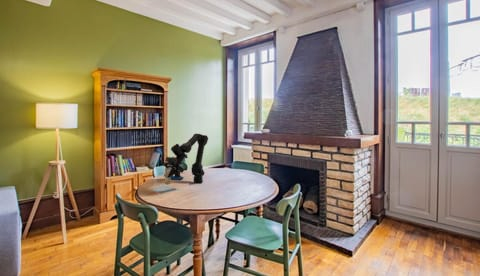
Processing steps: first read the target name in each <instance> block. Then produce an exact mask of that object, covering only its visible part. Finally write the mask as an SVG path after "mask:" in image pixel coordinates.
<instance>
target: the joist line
mask: <svg viewBox="0 0 480 276" xmlns="http://www.w3.org/2000/svg"><path fill="white" fill-rule="evenodd" d="M175 188H176V187H174V188H173V189H169V190H165V191H161V192H158V193H160V194H162V193H165V194H167V193H166V192H169V193H171V192H170V191H173V190H177V189H178V188H177V189H175ZM177 191H178V190H177ZM173 192H174V191H173Z"/></svg>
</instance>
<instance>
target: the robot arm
mask: <svg viewBox="0 0 480 276" xmlns="http://www.w3.org/2000/svg"><path fill="white" fill-rule="evenodd" d="M208 140H209V137H208V135H207V134H206V135H205V134H202V133H194V134H193V135H192V137H190V139H188V141H186V142H185V143H182V144H181V145H179V143H176V144H174V145H173V146H171V148H170V150H171V152H172V153H173V154H174V156H166V158H165V160H164V162H163V164H162V165H163V167H164V168H170V173H169V175H168V176H167V177H168V178H169V177H171V176H175V174H176V173H179V172H178V171H179V170H180V174H183V173H184V172H185V169H184V167H182V166H181V165H183V160H184V159H185V160H186V159H188V154H189V153H190V152H191V151H192V147H193V146H194V145H195V144H196V143H197V145H198V146H197V152H196V156H195V162H193V163H192V165H191V168H190V169H191V170H190V171H191V174H192V176H193V184H202V183H203V182H204V180H203V179H204V177H203V176H205V171H204V169H203V168H204V167H203V164H202V162H203V155H204V150H205V146H206V145H207V144H208V142H209V141H208ZM170 157H172V158H170ZM175 157H176V158H175ZM167 162H169V163H170V164H171V165H170V164H169V163H167ZM163 177H164V178H165V174H164V175H163Z"/></svg>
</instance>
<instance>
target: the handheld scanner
mask: <svg viewBox="0 0 480 276" xmlns="http://www.w3.org/2000/svg"><path fill="white" fill-rule="evenodd" d="M169 157H170V158H172V157H173V156H169ZM174 157H175V158H176V156H174ZM166 162H167V161H166ZM167 163H169V162H167ZM184 163H186V158H185V159H184V160H183V161H182V164H184ZM169 164H170V163H169ZM170 165H171V164H170ZM178 172H179V173H176V174H175V175H173V176H171V181H182V180H183V179H184V176H181V172H180V170H179V171H178Z"/></svg>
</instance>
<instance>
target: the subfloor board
mask: <svg viewBox="0 0 480 276" xmlns="http://www.w3.org/2000/svg"><path fill="white" fill-rule="evenodd" d="M173 188H175V189H177V190H173V191H170V192H166V193H161V194H162V195H165V194H168V193H169V194H170V193H173V192H177V191H180V190H181V188H180V189H179V188H176V187H173V186H170V185H166V184H162V185H161V184H160V185H158V186H152V187H149V188H147V189H148V190H151V191H154V192H157V193H159V192H161V191H165V190H169V189H173Z"/></svg>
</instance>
